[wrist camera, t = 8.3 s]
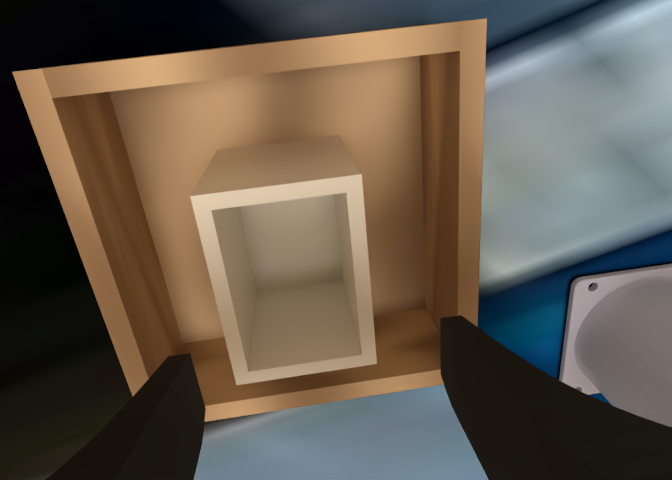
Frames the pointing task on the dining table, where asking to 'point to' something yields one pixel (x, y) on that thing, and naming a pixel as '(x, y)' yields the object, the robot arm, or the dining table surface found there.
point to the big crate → (264, 128)
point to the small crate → (288, 257)
